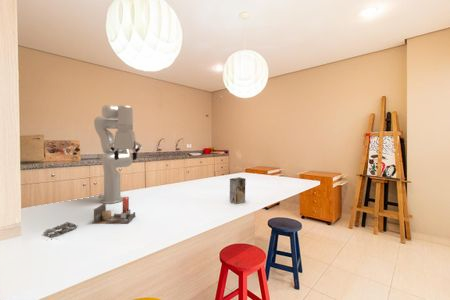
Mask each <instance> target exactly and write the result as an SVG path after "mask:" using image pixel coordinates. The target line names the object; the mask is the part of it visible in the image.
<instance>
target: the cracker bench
mask: <svg viewBox="0 0 450 300" xmlns="http://www.w3.org/2000/svg"><path fill="white" fill-rule="evenodd" d="M106 207H107V206H106V204H105V203H102V204H101V205H99V206H97V207H96V208H94V209H93V222H92V223H91V224H92V225H129V224H130V223H131V222H132V221H133V220H134V219H135V218H136V217H137V215H136V212H135V211H134V212H133V213H131V216H129V217H128V219H121V213H114V214H113V215H111V219H107V221H102V212H103V211H107V208H106Z"/></svg>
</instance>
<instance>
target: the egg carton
mask: <svg viewBox="0 0 450 300" xmlns="http://www.w3.org/2000/svg"><path fill="white" fill-rule="evenodd" d="M78 227H79V225H77V224H75V223H72V222H69V221H66V222H64V223H63V224H60V225H56V226H54V227H52V228H48V229H45V230H44V232H43V234H44V235H45V236H46V237H51V238H55V237H59V236H61V234H66V233H69V231H72V230H76V229H77V228H78Z"/></svg>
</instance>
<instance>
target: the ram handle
mask: <svg viewBox="0 0 450 300" xmlns="http://www.w3.org/2000/svg"><path fill="white" fill-rule="evenodd" d="M122 198H123V200H122V212H120V214H121V219H128V217H129V216H131V214H132V213H131V209H130V206H129V205H130V203H129V202H130V197H129V196H123V197H122Z"/></svg>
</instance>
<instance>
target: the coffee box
mask: <svg viewBox="0 0 450 300" xmlns="http://www.w3.org/2000/svg"><path fill="white" fill-rule="evenodd" d="M243 202H246V178H245V177H244V178H243V177H233V178H229V203H231V204H234V205H237V204H241V203H243Z"/></svg>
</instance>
